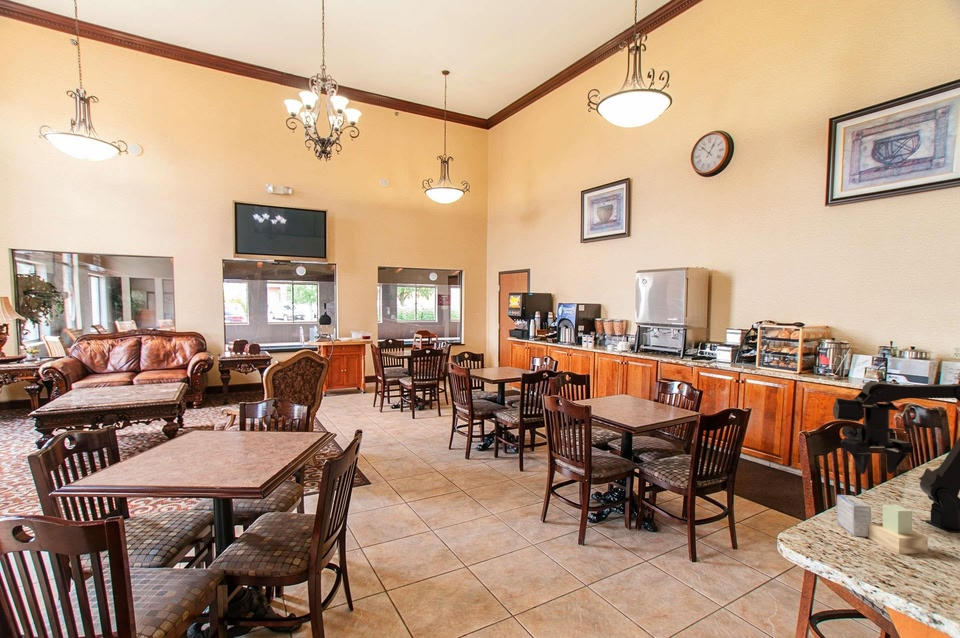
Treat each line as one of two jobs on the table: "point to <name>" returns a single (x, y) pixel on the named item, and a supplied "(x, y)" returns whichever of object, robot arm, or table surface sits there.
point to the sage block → (897, 519)
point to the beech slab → (898, 540)
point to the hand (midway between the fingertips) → (876, 473)
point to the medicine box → (853, 515)
